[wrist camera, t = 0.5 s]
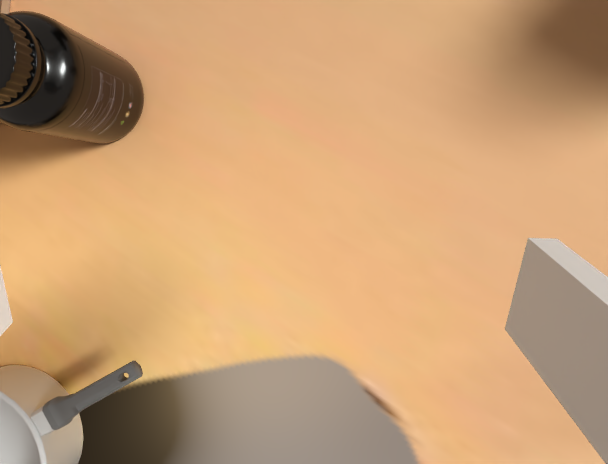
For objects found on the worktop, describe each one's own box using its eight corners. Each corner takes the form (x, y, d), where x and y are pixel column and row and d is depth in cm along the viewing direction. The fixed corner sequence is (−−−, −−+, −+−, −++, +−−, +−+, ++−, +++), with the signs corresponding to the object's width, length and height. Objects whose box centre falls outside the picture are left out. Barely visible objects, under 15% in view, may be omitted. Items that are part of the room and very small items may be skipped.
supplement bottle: (50, 121, 37) (-106, 84, 25) (84, 38, 36) (-60, -42, 24) (125, 161, 36) (2, 142, 24) (162, 77, 35) (54, 14, 23)
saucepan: (208, 410, 36) (178, 448, 31) (10, 515, 40) (-48, 566, 34) (134, 280, 37) (91, 294, 31) (-57, 394, 40) (-126, 425, 34)
